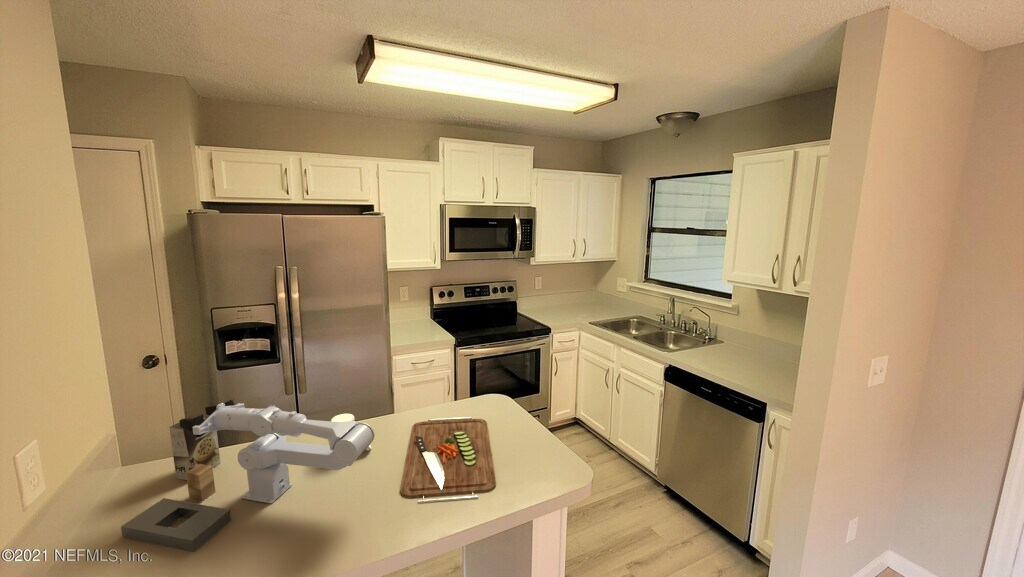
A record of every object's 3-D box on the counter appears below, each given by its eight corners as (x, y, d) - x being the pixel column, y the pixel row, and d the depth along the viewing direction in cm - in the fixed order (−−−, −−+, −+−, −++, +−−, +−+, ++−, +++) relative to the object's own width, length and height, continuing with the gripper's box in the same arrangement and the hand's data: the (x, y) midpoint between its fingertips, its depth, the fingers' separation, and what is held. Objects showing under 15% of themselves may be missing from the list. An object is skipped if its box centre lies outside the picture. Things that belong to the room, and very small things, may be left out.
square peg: (215, 492, 114) (212, 465, 112) (202, 502, 110) (198, 474, 108) (203, 490, 114) (199, 464, 113) (189, 499, 111) (185, 472, 109)
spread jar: (325, 451, 134) (323, 417, 132) (358, 437, 142) (356, 405, 140) (344, 466, 126) (342, 431, 124) (377, 450, 134) (375, 417, 132)
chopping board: (497, 498, 113) (498, 488, 113) (397, 506, 110) (397, 496, 109) (485, 418, 157) (485, 410, 157) (413, 422, 154) (413, 414, 153)
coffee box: (193, 481, 118) (186, 429, 115) (175, 478, 119) (167, 427, 116) (221, 463, 127) (215, 414, 124) (204, 460, 128) (197, 411, 125)
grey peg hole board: (231, 520, 104) (230, 509, 103) (194, 551, 94) (192, 540, 93) (165, 508, 107) (163, 498, 107) (123, 537, 98) (121, 526, 97)
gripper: (256, 394, 118) (215, 392, 120) (211, 417, 104) (166, 414, 106) (259, 417, 119) (218, 415, 121) (215, 443, 105) (170, 440, 107)
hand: (194, 416), depth 114 cm, fingers open, 7 cm apart
